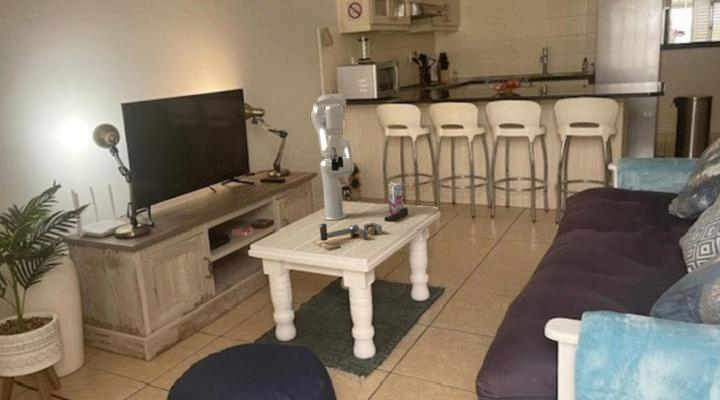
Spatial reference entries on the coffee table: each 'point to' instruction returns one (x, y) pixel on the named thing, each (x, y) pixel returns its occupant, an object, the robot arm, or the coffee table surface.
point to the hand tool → (397, 215)
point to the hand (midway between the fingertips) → (337, 168)
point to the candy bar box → (395, 197)
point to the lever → (342, 232)
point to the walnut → (371, 230)
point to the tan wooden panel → (347, 238)
